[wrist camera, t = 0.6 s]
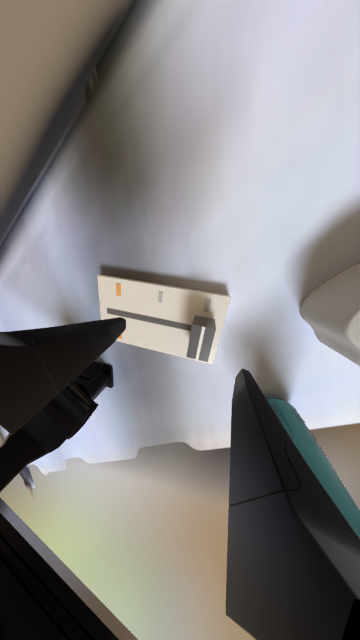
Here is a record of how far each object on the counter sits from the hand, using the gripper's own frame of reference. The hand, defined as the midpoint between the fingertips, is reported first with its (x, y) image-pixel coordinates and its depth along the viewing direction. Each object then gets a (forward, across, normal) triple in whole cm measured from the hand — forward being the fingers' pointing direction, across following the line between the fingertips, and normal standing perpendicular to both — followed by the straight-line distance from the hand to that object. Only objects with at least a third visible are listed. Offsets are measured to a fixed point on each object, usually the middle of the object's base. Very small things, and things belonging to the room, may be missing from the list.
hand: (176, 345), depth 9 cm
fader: (+11, -1, +5) cm, 12 cm away
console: (+12, +7, +6) cm, 16 cm away
